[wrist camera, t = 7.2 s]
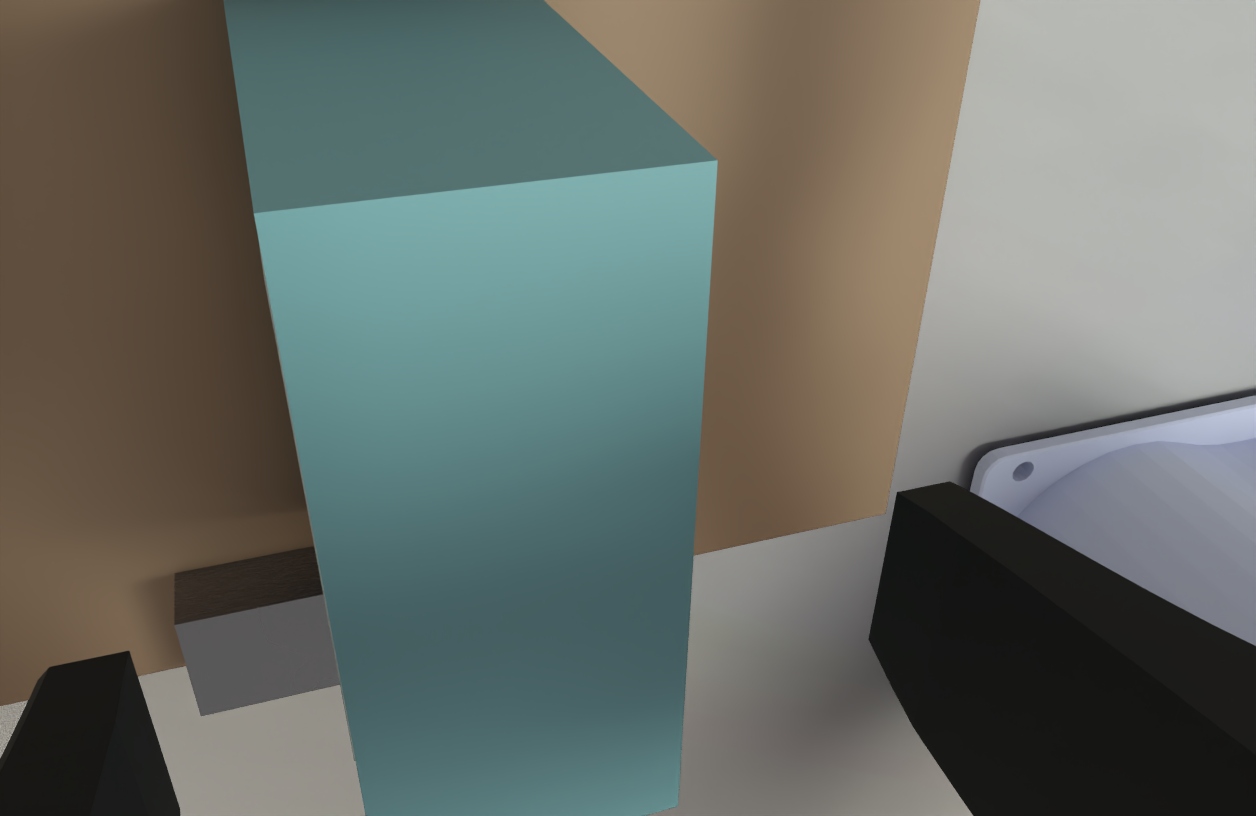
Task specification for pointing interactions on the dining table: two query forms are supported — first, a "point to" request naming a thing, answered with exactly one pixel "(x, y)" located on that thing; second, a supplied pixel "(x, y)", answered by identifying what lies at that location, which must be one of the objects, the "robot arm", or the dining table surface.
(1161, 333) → the dining table surface
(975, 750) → the robot arm
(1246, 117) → the dining table surface
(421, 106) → the teal block
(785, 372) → the wooden board
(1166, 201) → the dining table surface
